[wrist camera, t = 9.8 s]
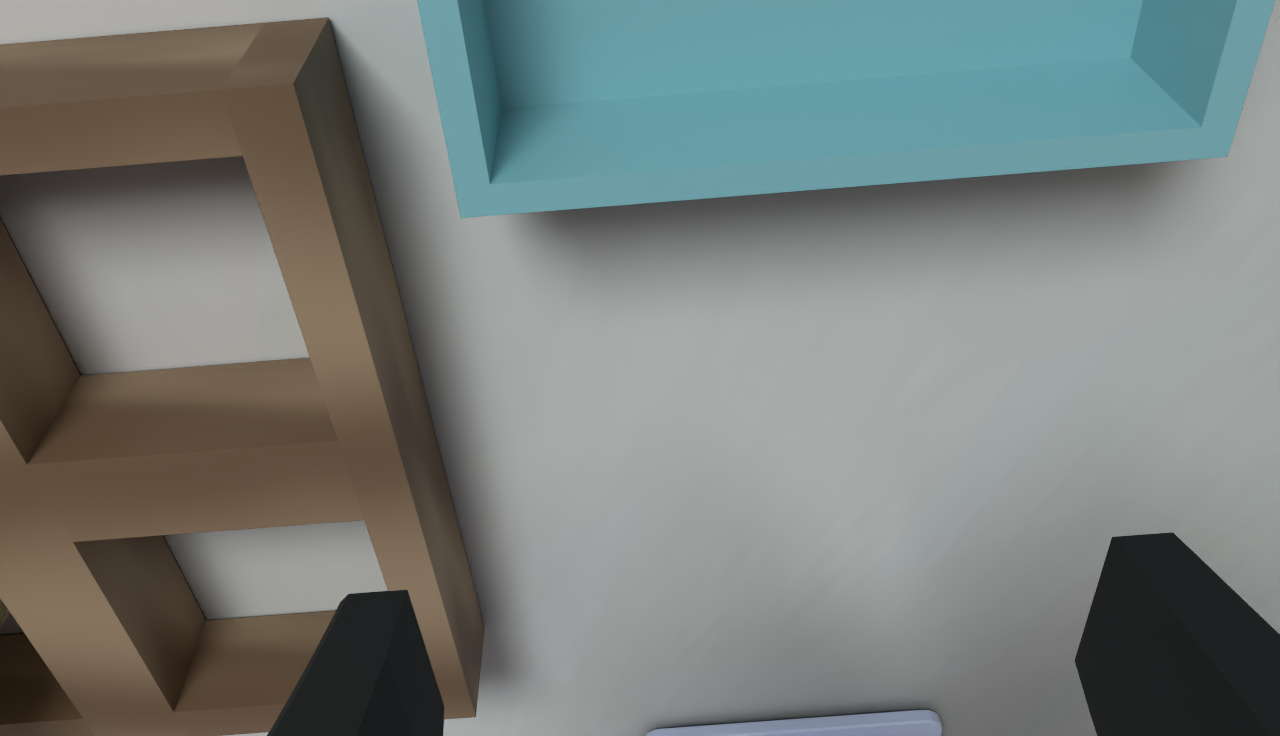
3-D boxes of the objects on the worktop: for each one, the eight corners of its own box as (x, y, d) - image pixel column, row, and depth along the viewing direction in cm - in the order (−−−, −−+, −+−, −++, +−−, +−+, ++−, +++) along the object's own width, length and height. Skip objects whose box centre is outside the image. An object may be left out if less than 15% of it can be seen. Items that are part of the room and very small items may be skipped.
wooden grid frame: (484, 626, 26) (475, 716, 24) (-125, 671, 26) (-183, 764, 24) (328, 17, 16) (293, 83, 14) (-619, 96, 17) (-782, 171, 15)
